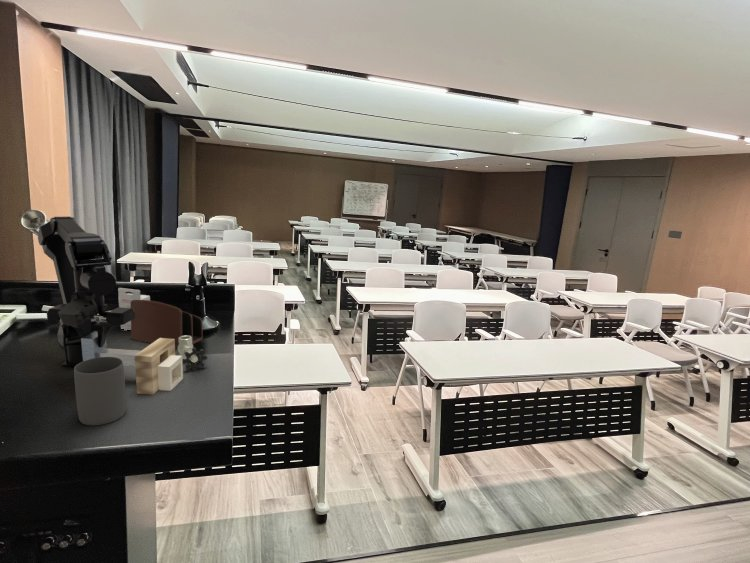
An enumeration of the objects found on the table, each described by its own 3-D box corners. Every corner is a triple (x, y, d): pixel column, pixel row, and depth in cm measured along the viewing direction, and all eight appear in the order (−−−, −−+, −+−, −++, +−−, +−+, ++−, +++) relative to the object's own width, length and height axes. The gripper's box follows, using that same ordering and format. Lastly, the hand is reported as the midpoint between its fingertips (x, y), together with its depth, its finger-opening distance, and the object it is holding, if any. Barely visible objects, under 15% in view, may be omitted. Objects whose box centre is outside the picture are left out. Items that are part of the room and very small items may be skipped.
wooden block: (137, 393, 105) (134, 355, 103) (161, 372, 117) (159, 337, 115) (153, 394, 105) (151, 356, 103) (176, 373, 117) (174, 338, 115)
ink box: (152, 328, 149) (150, 286, 146) (142, 332, 144) (140, 290, 141) (130, 325, 150) (127, 284, 147) (120, 329, 146) (117, 287, 142)
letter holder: (181, 350, 133) (179, 306, 129) (130, 339, 138) (128, 297, 135) (203, 340, 142) (202, 299, 139) (155, 330, 148) (153, 290, 144)
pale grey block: (84, 372, 108) (81, 338, 106) (96, 363, 113) (94, 331, 111) (151, 376, 108) (149, 342, 106) (161, 368, 113) (159, 335, 111)
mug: (133, 416, 96) (129, 366, 93) (85, 431, 89) (80, 378, 87) (112, 393, 105) (108, 347, 102) (67, 405, 98) (62, 356, 95)
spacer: (158, 390, 108) (157, 366, 106) (171, 377, 115) (170, 355, 113) (170, 390, 108) (169, 366, 106) (183, 378, 115) (182, 355, 113)
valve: (172, 358, 127) (182, 373, 118) (171, 336, 125) (181, 351, 116) (195, 353, 131) (207, 368, 122) (194, 333, 129) (207, 346, 120)
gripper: (25, 292, 98) (32, 356, 101) (107, 297, 98) (112, 361, 102) (60, 281, 109) (66, 339, 112) (134, 286, 109) (138, 344, 112)
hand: (94, 346), depth 109 cm, fingers closed on pale grey block, 3 cm apart
